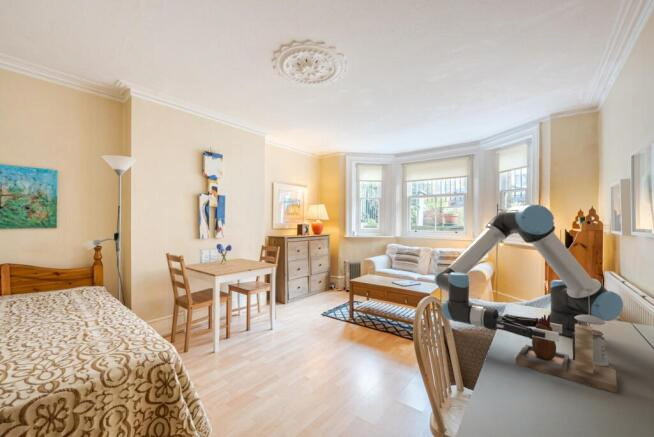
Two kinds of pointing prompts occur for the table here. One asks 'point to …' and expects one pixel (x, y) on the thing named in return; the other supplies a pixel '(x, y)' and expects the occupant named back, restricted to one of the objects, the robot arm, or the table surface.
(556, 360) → the wooden tray stand
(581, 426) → the table surface
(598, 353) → the french press
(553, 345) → the wooden figurine
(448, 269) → the robot arm
